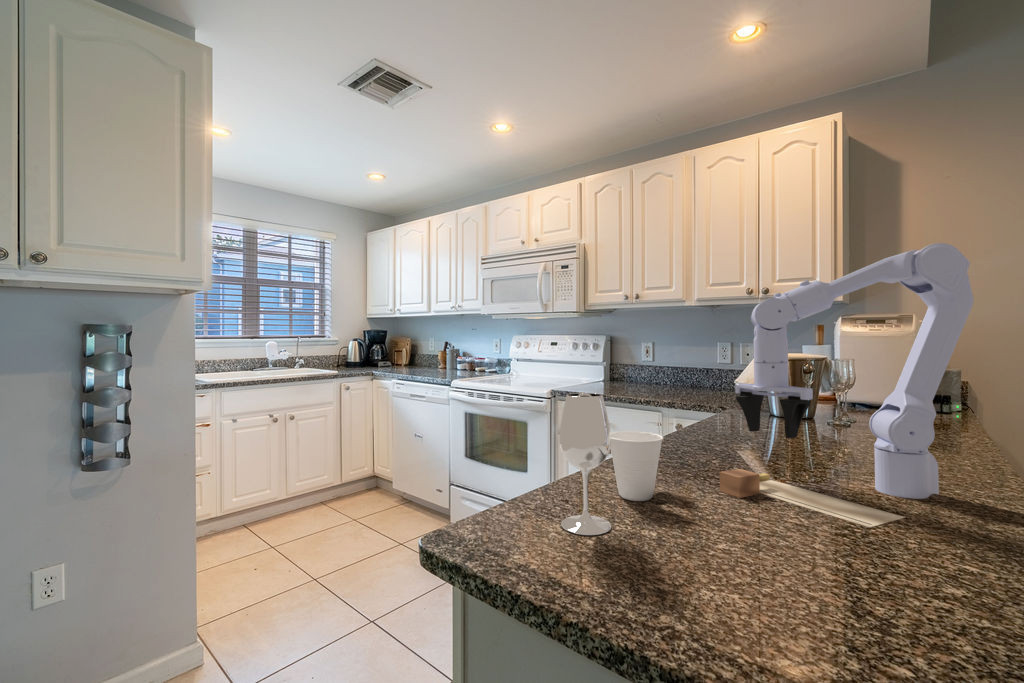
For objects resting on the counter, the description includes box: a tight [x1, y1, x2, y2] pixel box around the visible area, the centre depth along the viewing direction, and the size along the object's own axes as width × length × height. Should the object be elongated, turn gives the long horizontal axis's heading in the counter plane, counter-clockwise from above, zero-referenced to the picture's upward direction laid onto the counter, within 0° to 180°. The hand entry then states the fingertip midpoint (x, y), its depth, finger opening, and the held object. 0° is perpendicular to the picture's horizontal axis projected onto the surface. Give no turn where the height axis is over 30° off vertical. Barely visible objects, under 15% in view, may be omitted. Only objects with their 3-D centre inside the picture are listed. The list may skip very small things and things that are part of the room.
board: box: [759, 479, 906, 528], centre depth 77 cm, size 9×22×2 cm, turn 24°
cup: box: [610, 430, 664, 502], centre depth 85 cm, size 10×10×11 cm
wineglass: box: [558, 392, 612, 536], centre depth 71 cm, size 8×8×20 cm
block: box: [719, 468, 771, 499], centre depth 82 cm, size 10×4×5 cm, turn 114°
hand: (772, 434), depth 88 cm, fingers open, 7 cm apart
